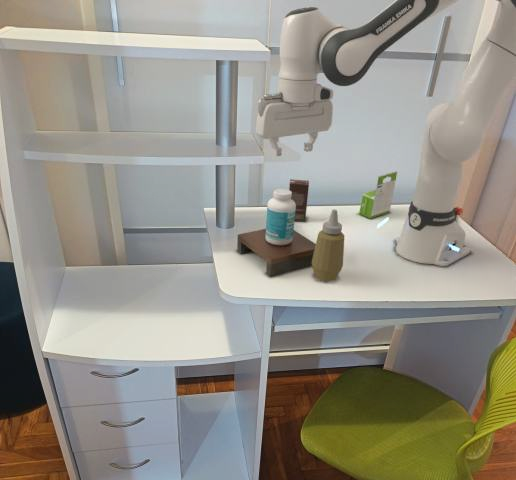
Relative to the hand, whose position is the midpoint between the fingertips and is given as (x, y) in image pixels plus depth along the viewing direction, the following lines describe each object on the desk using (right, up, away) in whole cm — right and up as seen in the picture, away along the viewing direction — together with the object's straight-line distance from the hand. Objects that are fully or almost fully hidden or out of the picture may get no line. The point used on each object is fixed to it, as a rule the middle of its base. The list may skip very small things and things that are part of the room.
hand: (292, 153), depth 125 cm
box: (+4, -7, +38) cm, 39 cm away
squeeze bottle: (+9, -30, +7) cm, 32 cm away
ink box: (+31, -3, +45) cm, 55 cm away
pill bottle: (-3, -19, +12) cm, 23 cm away
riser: (-3, -23, +15) cm, 28 cm away
